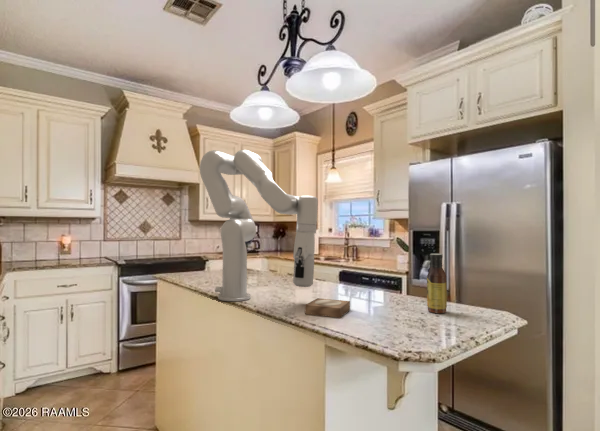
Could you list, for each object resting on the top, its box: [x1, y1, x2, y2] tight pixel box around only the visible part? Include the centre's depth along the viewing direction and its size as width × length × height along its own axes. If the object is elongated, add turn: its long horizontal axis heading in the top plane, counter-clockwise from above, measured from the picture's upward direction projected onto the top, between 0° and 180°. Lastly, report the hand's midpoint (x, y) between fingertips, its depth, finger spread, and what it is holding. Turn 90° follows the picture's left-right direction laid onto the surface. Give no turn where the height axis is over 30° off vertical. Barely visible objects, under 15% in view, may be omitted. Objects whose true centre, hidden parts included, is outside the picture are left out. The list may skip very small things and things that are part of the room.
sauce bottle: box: [426, 253, 448, 314], centre depth 126 cm, size 7×6×20 cm
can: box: [292, 254, 315, 288], centre depth 137 cm, size 8×8×12 cm
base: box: [304, 297, 351, 318], centre depth 125 cm, size 12×12×3 cm
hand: (303, 276), depth 137 cm, fingers closed on can, 7 cm apart
